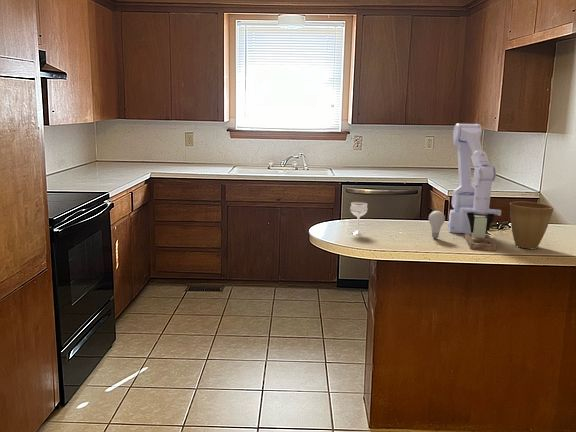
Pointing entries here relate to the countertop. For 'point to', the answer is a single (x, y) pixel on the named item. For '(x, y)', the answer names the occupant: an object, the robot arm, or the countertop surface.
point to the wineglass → (358, 212)
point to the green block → (479, 227)
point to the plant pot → (529, 222)
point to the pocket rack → (480, 242)
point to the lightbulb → (436, 222)
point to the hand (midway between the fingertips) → (478, 232)
